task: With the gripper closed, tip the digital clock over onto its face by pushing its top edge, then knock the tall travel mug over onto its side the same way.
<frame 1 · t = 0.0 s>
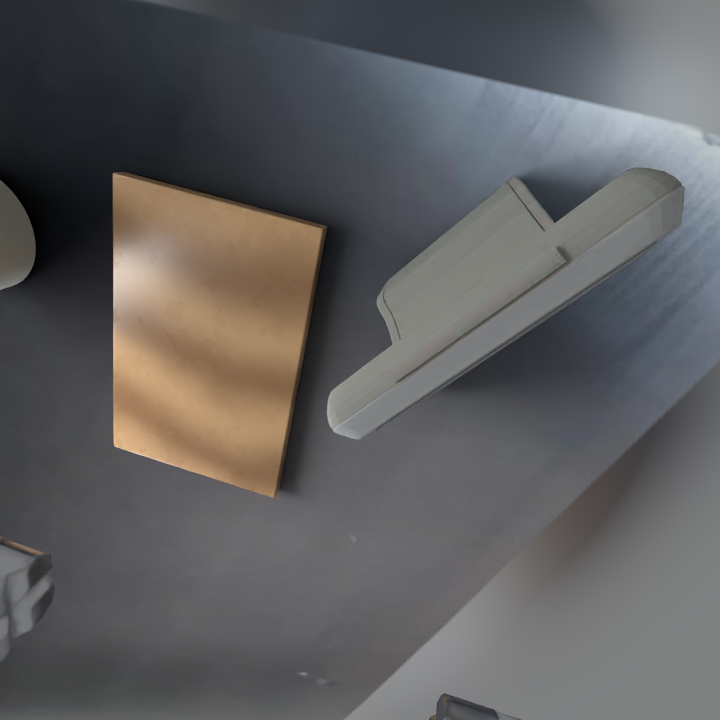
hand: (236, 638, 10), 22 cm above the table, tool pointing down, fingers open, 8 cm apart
wooden board: (209, 348, 34), on the table
digital clock: (492, 287, 28), on the table
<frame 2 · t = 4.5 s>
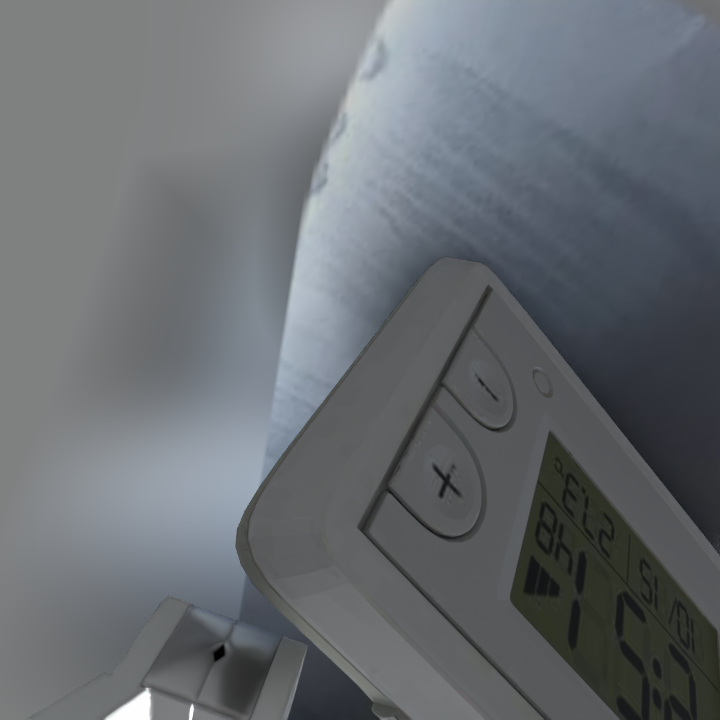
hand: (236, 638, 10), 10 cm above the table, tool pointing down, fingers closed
digital clock: (538, 454, 18), on the table, touching gripper
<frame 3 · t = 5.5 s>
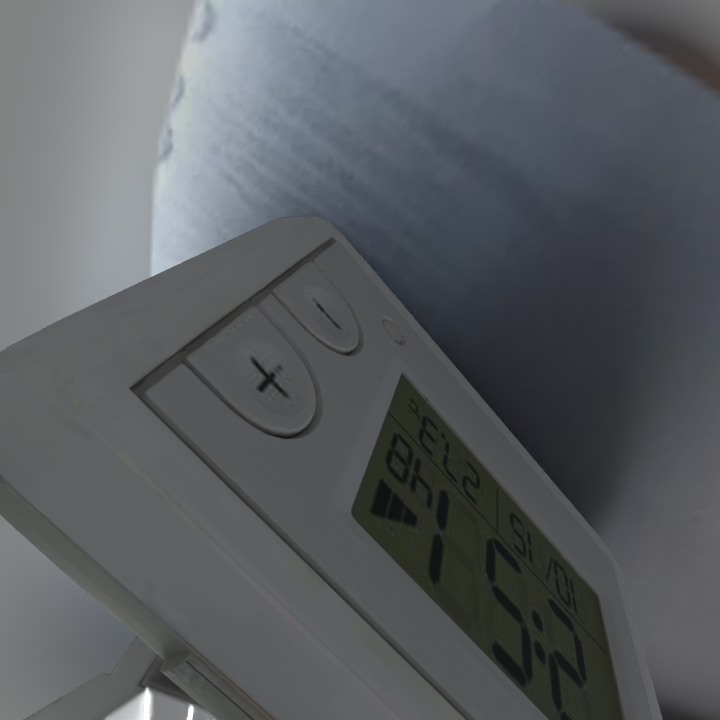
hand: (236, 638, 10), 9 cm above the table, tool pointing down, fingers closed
digital clock: (407, 442, 17), point 1 cm above the table, touching gripper
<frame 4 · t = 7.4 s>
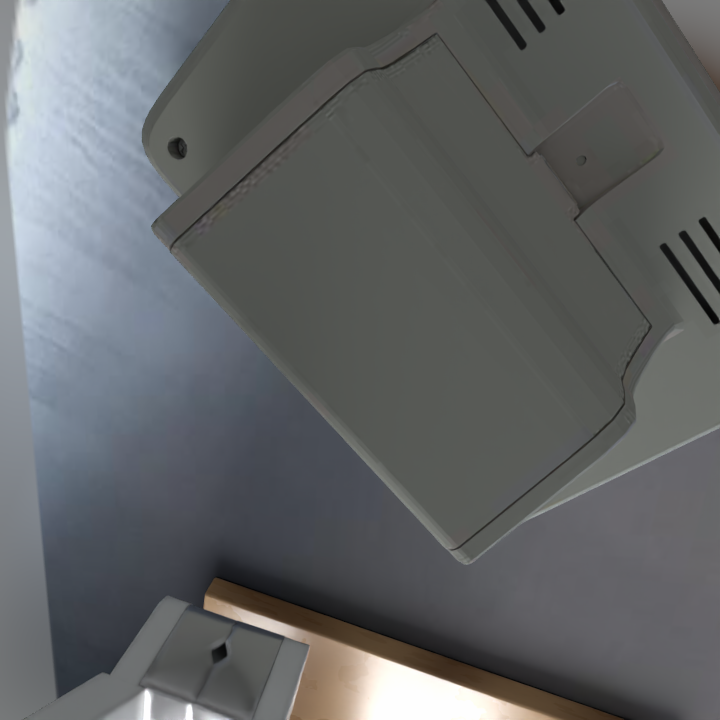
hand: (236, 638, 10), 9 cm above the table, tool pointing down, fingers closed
digital clock: (314, 375, 13), point 3 cm above the table
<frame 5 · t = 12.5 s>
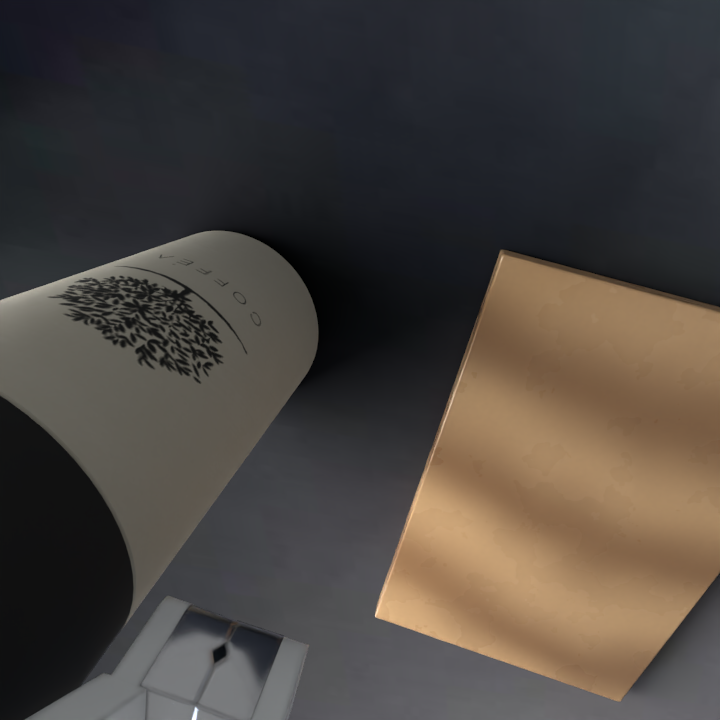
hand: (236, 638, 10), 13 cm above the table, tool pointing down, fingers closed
wooden board: (567, 502, 22), on the table
travel mug: (236, 318, 22), on the table, touching gripper
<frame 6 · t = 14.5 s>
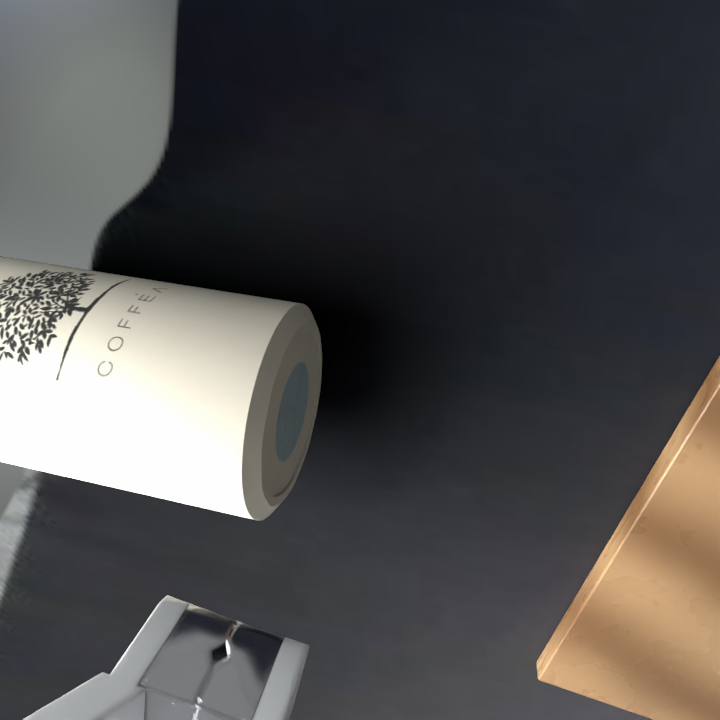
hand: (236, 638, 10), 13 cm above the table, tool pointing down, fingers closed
travel mug: (301, 413, 18), point 4 cm above the table
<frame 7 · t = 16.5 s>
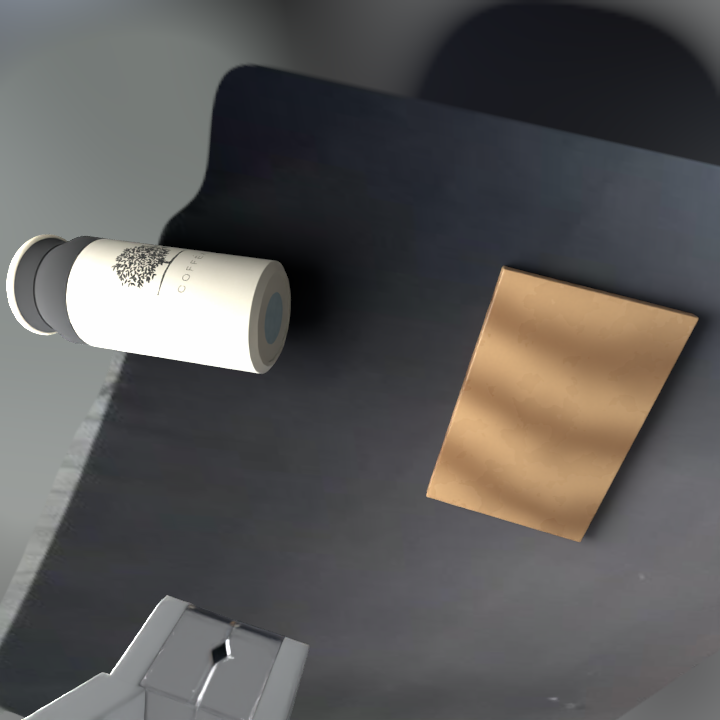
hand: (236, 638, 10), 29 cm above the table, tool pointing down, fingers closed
wooden board: (543, 412, 38), on the table
travel mug: (278, 319, 35), point 4 cm above the table
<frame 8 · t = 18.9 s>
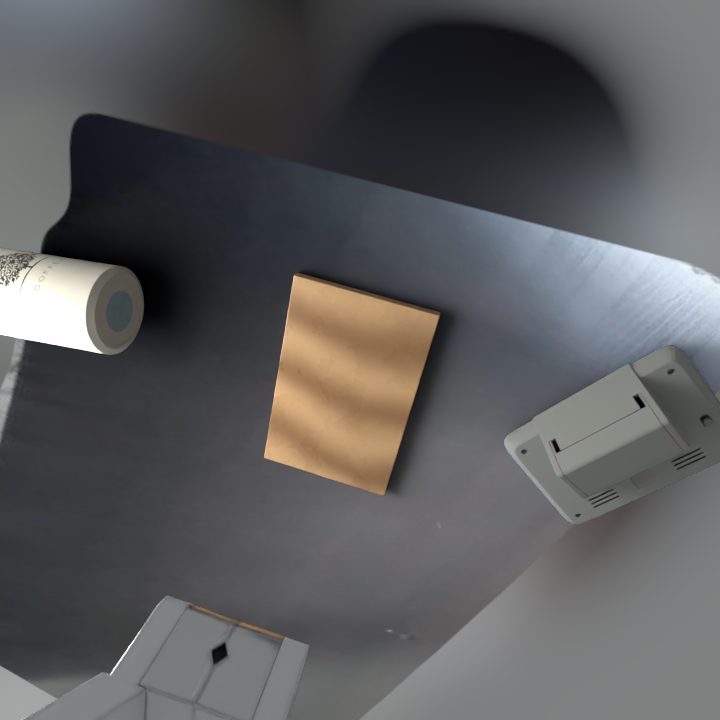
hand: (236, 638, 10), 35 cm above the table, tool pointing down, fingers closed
wooden board: (345, 389, 48), on the table
digital clock: (586, 408, 40), point 3 cm above the table
travel mug: (123, 311, 45), point 4 cm above the table
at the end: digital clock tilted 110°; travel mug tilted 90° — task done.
